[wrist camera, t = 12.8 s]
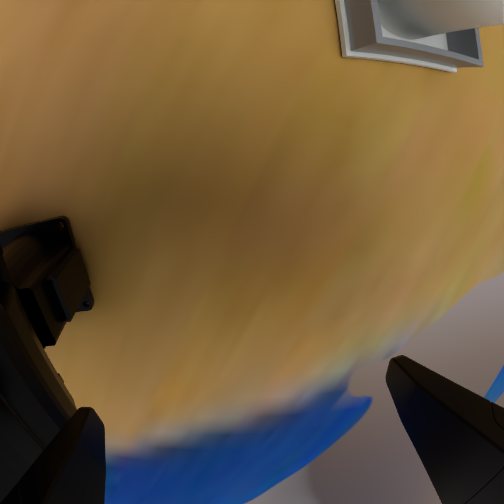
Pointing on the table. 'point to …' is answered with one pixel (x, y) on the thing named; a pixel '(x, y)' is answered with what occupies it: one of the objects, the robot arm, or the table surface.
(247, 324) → the table surface
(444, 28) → the paper towel roll
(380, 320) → the table surface
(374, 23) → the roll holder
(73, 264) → the robot arm
